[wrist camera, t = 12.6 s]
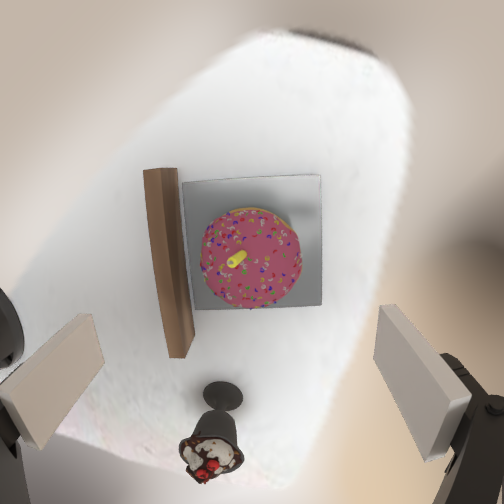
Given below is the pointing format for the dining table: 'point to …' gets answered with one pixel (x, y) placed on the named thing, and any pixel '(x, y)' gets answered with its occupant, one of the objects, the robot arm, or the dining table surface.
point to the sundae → (214, 436)
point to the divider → (169, 258)
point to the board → (268, 198)
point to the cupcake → (250, 257)
